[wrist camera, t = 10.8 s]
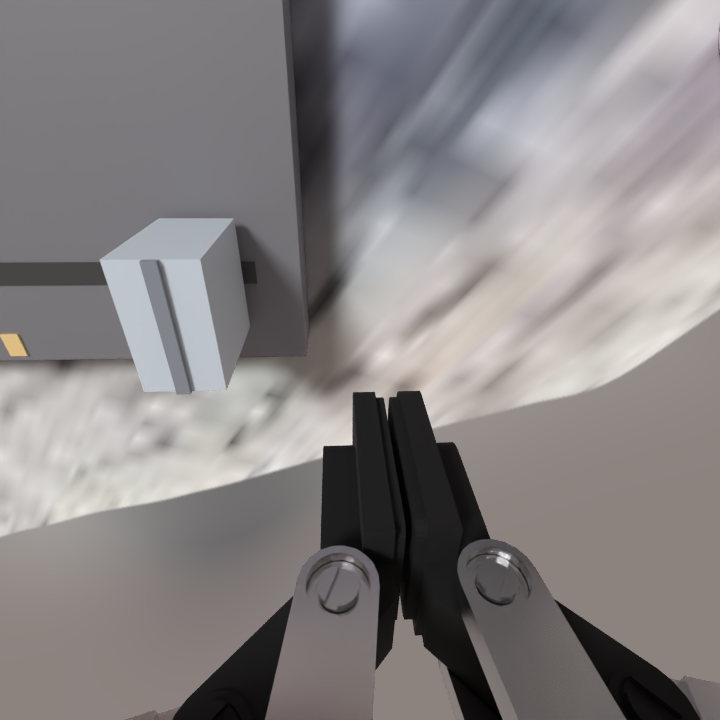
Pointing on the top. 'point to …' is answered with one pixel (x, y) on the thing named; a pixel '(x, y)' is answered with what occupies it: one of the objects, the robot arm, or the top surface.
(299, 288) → the fader console
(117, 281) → the grey fader
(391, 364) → the top surface
